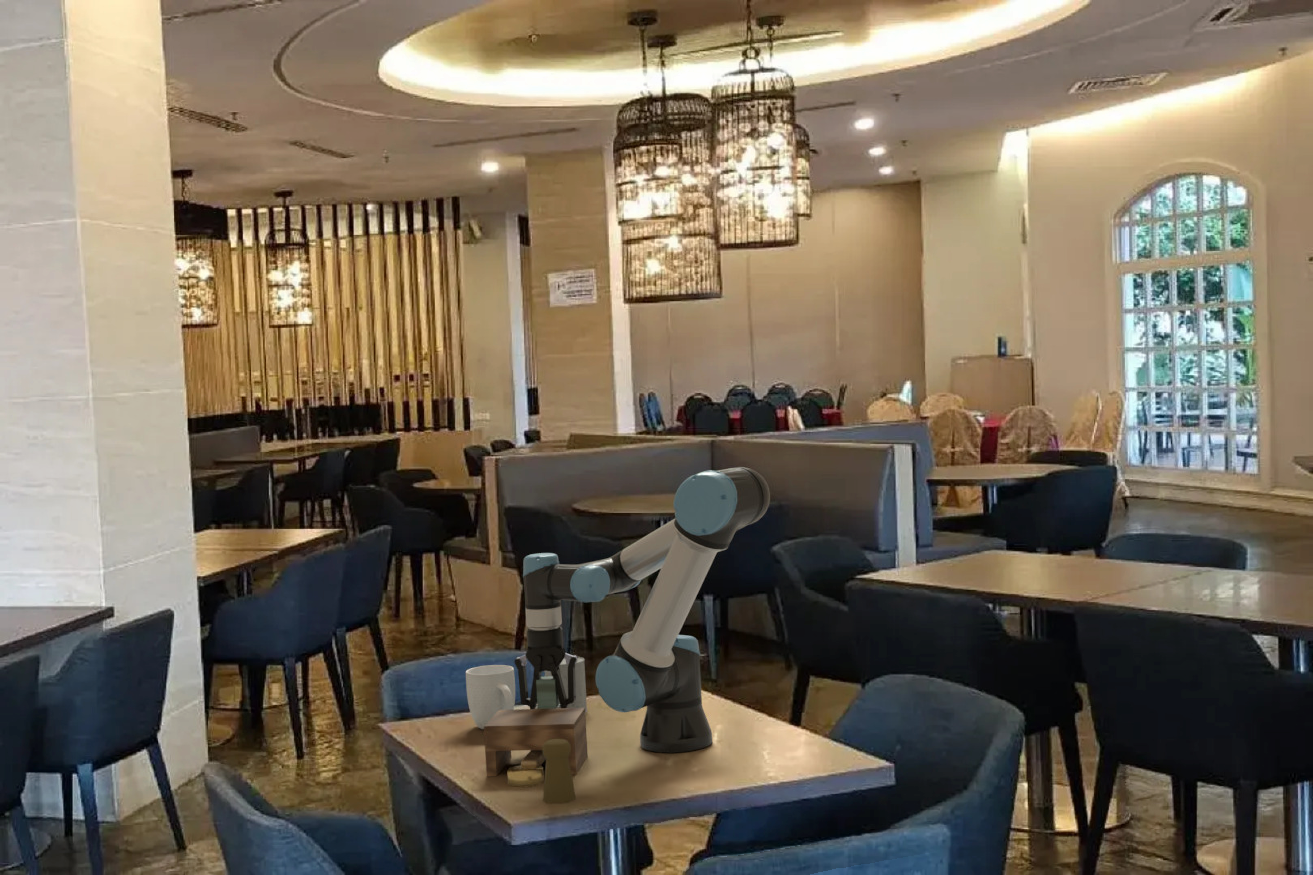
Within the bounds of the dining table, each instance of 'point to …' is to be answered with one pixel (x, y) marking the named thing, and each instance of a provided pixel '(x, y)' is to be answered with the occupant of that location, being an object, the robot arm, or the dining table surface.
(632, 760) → the dining table surface
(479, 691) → the mug
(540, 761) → the sweep tool
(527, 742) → the wooden bench
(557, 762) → the cork
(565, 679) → the speckled white cylinder
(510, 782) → the token
